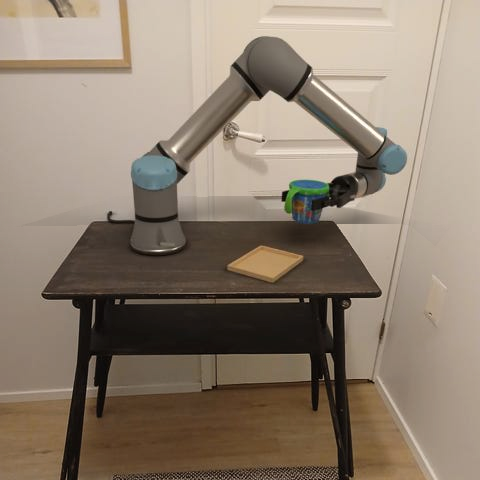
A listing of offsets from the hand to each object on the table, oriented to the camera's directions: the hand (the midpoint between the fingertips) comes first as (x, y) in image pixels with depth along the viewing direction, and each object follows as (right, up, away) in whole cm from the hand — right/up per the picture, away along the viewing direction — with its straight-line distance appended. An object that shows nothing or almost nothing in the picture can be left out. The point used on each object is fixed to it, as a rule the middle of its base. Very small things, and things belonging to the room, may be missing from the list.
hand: (297, 201), depth 129 cm
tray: (-8, -17, -2) cm, 19 cm away
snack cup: (+3, -4, +6) cm, 8 cm away
